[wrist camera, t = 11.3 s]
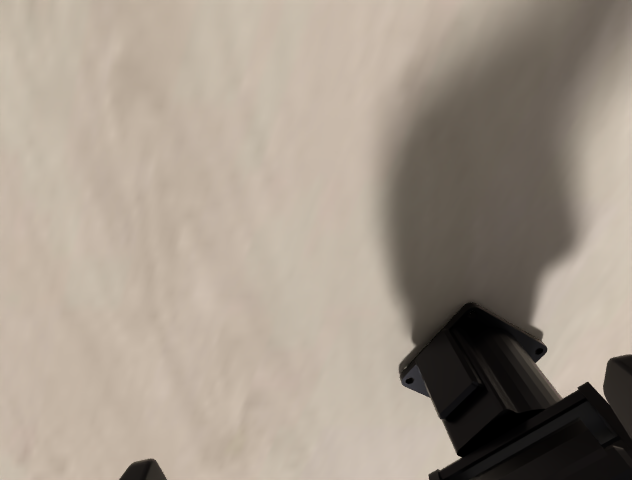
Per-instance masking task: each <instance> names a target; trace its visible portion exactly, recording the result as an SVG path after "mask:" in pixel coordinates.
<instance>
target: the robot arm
mask: <svg viewBox="0 0 632 480" xmlns="http://www.w3.org/2000/svg"><path fill="white" fill-rule="evenodd" d="M471 311H473V312H472V313H471V314H469V313H470V312H471ZM546 352H547V347H546V345H545V344H544V343H543V342H542V341H541V340H539V339H537V338H535V337H534V336H532V335H530V334H528V333H527V332H525V331H523V330H521V329H520V328H518V327H516V326H514V325H513V324H511V323H509V322H507V321H505V320H504V319H502V318H500V317H498V316H497V315H495V314H493V313H491V312H490V311H488V310H486V309H484V308H483V307H481V306H479V305H477V304H476V303H468V304H466V305H465V306H463V307H462V308H461V310H460V311H459V312H458V313H457V314H456V315H455V316H454V317H453V318H452V319H451V320H450V321H449V322H448V323H447V325H446V326H445V327H444V328H443V329H442V330H441V331H440V332H439V333H438V334H437V335H436V336H435V337H434V339H433V340H432V341H431V342H430V343H429V344H428V345H427V346H426V347H425V348H424V349H423V350H422V351H421V352H420V354H419V355H418V356H417V357H416V358H415V359H414V360H413V361H412V362H411V363H410V364H409V365H408V366H407V368H406V369H405V370H404V371H403V372H402V373H401V374H400V380H401V382H402V385H403V386H405V387H407V388H409V389H412V390H414V391H416V392H418V393H421V394H423V395H425V396H427V397H430V398H431V400H432V402H433V405H434V407H435V409H436V412H437V414H438V416H439V418H440V419H442V421H443V424H444V426H445V428H446V431H447V433H448V435H449V437H450V440H451V442H452V444H453V447H454V449H455V451H456V453H457V455H458V456H460V457H462V458H460V459H459V460H457V461H455V462H453V463H452V464H450V465H448V466H447V467H445V468H443V469H441V470H439V469H437V470H436V471H434V472H432V473H431V474H429V480H632V355H630V354H629V355H623V356H618V357H614V358H611V359H610V360H609V361H608V363H607V368H606V374H605V379H604V385H603V390H604V395H605V397H606V399H607V401H608V403H609V404H610V405H609V404H608V403H607V402H606V400H605V399H604V398H603V397H602V396H601V395H600V394H599V393H598V392H597V391H596V390H595V389H594V388H593V387H592V385H591V384H590V383H589V382H586V383H585V384H583V385H581V386H579V387H578V390H577V391H575V392H574V393H572V394H570V395H568V396H567V397H565V398H563V399H562V397H561V396H560V395H559V393H558V392H557V391H556V389H555V388H554V387H553V386H552V384H551V383H550V382H549V380H548V379H547V378H546V377H545V375H544V374H543V373H542V371H541V370H540V369H539V368H538V366H537V365H536V364H535V363H536V362H537V361H538V360H539V359H540V358H541V357H543V356H544V355H545V353H546ZM408 378H409V379H408ZM119 480H167V479H166V477H165V475H164V474H163V472H162V470H161V468H160V467H159V465H158V463H157V462H156V460H154V459H146V460H141V461H137V462H134V463H132V464H131V465H130V466H129V467H128V468H127V470H126V471H125V472H124V474H123V475H122V476H121V478H120V479H119Z"/></svg>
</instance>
